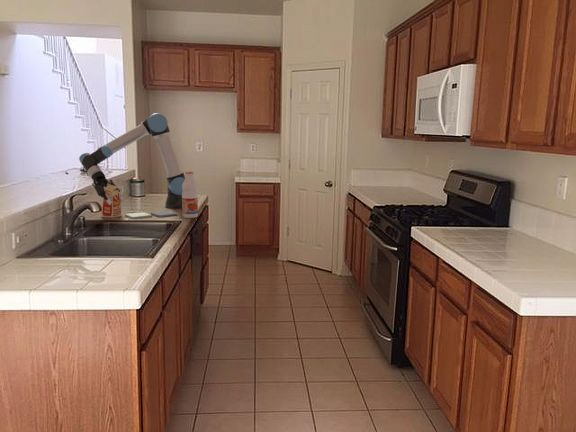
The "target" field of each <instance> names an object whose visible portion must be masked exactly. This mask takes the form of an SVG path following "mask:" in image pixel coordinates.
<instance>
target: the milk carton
mask: <svg viewBox="0 0 576 432" xmlns="http://www.w3.org/2000/svg"><path fill="white" fill-rule="evenodd" d="M107 185H108V186H107V187H104V191H105V194H107V195H108V196H109V198H110V199H111V201H112V203H111V205H109V204H108V202H107V201H106V200H105V199H104V198H102V204H101V205H102V206H101V216H102V218H119V217H121V216H122V212H123V211H122V205H121V204H122V203H120V196H121V195H120V196H119V194H120V192H119V190H120V189H119V188H118V187H119V186H117V185H116V186H113V185H110V184H108V183H107ZM118 189H119V190H118ZM102 209H103V211H102Z"/></svg>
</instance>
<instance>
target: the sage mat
mask: <svg viewBox="0 0 576 432" xmlns="http://www.w3.org/2000/svg"><path fill="white" fill-rule="evenodd" d="M124 217H125V218H129V219H132V220H137V218H138V219H145V218H153V215H151V213H150V214H149V213H147V212H144V211H141V212H134V213H133V212H132V213H124Z"/></svg>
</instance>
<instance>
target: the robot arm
mask: <svg viewBox="0 0 576 432" xmlns="http://www.w3.org/2000/svg"><path fill="white" fill-rule="evenodd" d="M170 131H171V130H170V128H169V124H168V120H167V117H166V116H164V114H162V113H160V112H154V113H152V114H150V115H149V116H148V117H147V118H145V119H144V120H143V121H141V122H140V124H139V125H137V126H135V127H133V128H132V129H130V130H128V131H127V132H125V133H123V134H120V135H118V137H116V138H114V139H113V140H111V141H109V142H108V143H106V144H104V145H102V146H100V147H98V148H97V149H96V150H94V151H93V152H92V153H89V152H85V153H82V154H81V155H79V158H78V160H79V162H80V164H81V166H82V167H83V168H84V170H85V171H86V172H87V174H88V175H89V177H90V178H91V179H92V181H93V182H92V184H91V185H92V186H93V188H94V189H95V192H96V193H97V196H98V197H100V198H102V199H103V198H104V199H105V200H106V201H107V202H108V204H109V205H111V203H112V201H111V199H110V198H109V196H108V195H107V194H105V188H106V187H107V186H108V185H107V183H108V184H110V185H113V186H117V185H116V184H115V183H114V182H113V180H112V179H107V178H106V175H105V174H104V172H103V170H102V169H101V167H100V166H99V164H101V163H102V162H103V161H106V160H107V159H108V158H111V157H112V156H113V155H114V154H115V153H117V152H119V151H121V150H123V149H124V148H127V146H128V147H129V145H131V144H133V143H135V142H136V141H138V140H140V139H142V138H143V137H145V136H150V135H151V137H152V138H154V139H155V141H156V144H157V147H158V150H159V153H160V157H161V158H162V161H163V164H164V167H165V170H166V176H165V177H166V181H167V183H166V184H167V185H166V186H167V187H166V188H167V197H166V200H165V203H164V204H165V205H164V207H165V208H169V209H182V192H183V189H182V184H183V182H184V180H185V177H186V174H185V173H184V172H185V171H182V170H181V169H180V166H179V163H178V159H177V156H176V154H175V150H174V146H173V145H172V142H171V137H170V133H171V132H170ZM118 190H119V196H120V203H121V204H122V203H123V201H124V199H123V197H122V195H121V194H120V193H121V190H120V189H119V188H118Z"/></svg>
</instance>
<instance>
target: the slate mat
mask: <svg viewBox="0 0 576 432" xmlns="http://www.w3.org/2000/svg"><path fill="white" fill-rule="evenodd" d="M150 215H152V216H155V217H157V218H165V217H174V216H178V213H177V212H173V211H171V210H164V211H154V212H150Z"/></svg>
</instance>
